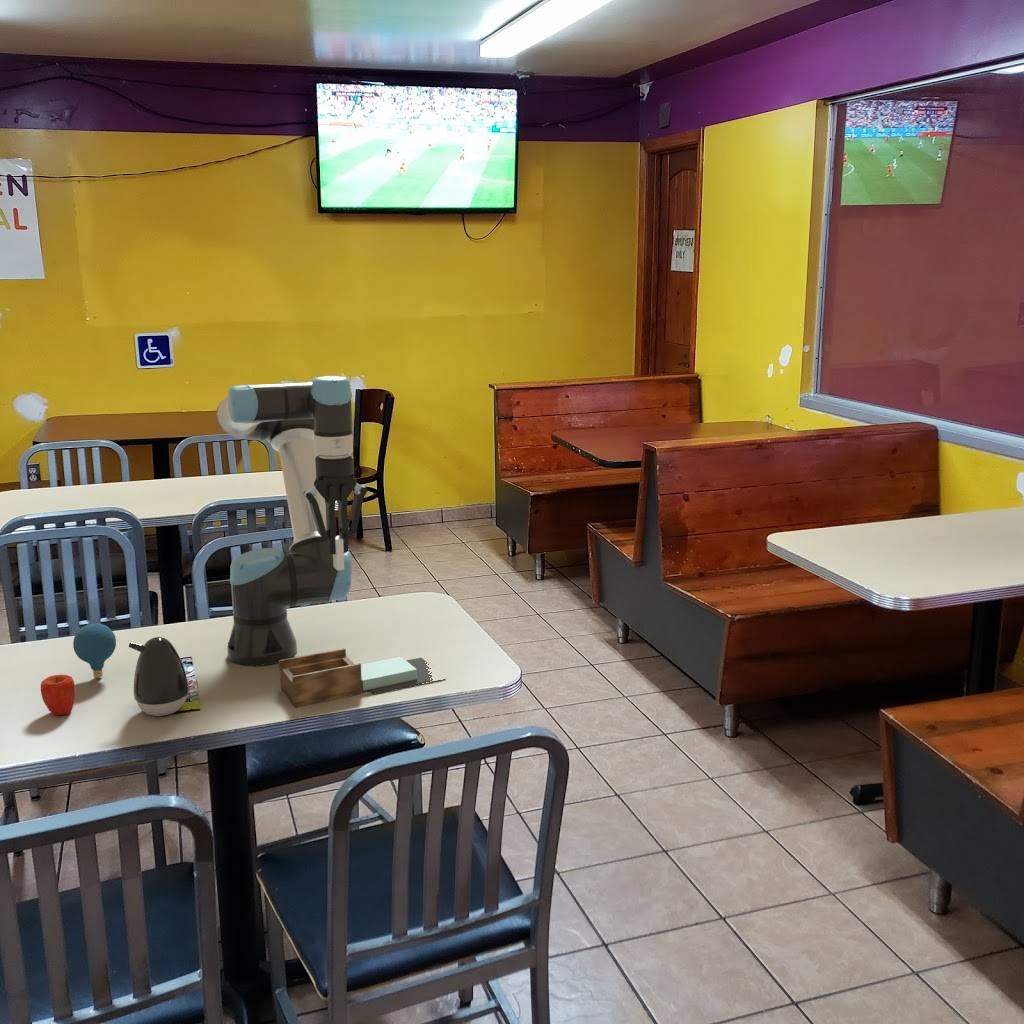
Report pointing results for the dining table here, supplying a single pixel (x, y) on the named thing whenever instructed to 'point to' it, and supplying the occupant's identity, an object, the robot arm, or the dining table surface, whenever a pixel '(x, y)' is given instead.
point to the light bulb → (94, 646)
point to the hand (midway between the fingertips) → (338, 568)
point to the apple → (58, 694)
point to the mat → (421, 678)
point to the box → (319, 677)
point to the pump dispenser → (159, 678)
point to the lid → (386, 673)
